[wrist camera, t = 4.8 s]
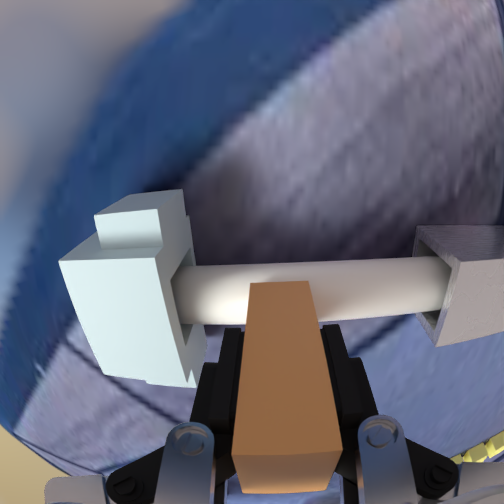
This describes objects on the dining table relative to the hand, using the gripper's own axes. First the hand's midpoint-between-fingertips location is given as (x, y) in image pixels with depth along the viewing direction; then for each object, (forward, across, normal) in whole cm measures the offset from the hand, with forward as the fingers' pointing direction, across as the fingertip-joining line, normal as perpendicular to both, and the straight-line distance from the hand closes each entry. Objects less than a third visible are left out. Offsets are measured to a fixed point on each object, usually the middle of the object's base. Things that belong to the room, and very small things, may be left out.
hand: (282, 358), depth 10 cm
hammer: (+6, -4, 0) cm, 7 cm away
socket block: (+7, +7, 0) cm, 10 cm away
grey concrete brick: (+7, -14, 0) cm, 16 cm away
